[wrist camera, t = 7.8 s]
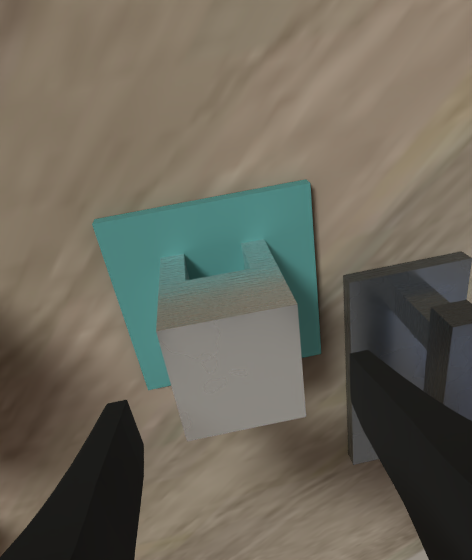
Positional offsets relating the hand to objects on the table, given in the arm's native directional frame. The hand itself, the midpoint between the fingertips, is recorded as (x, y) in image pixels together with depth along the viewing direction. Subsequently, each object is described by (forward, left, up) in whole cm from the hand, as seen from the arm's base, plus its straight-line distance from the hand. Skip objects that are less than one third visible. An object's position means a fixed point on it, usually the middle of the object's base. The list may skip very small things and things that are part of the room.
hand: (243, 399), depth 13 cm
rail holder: (-7, -9, -7) cm, 13 cm away
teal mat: (0, 0, -7) cm, 7 cm away
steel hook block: (0, 0, -7) cm, 7 cm away
